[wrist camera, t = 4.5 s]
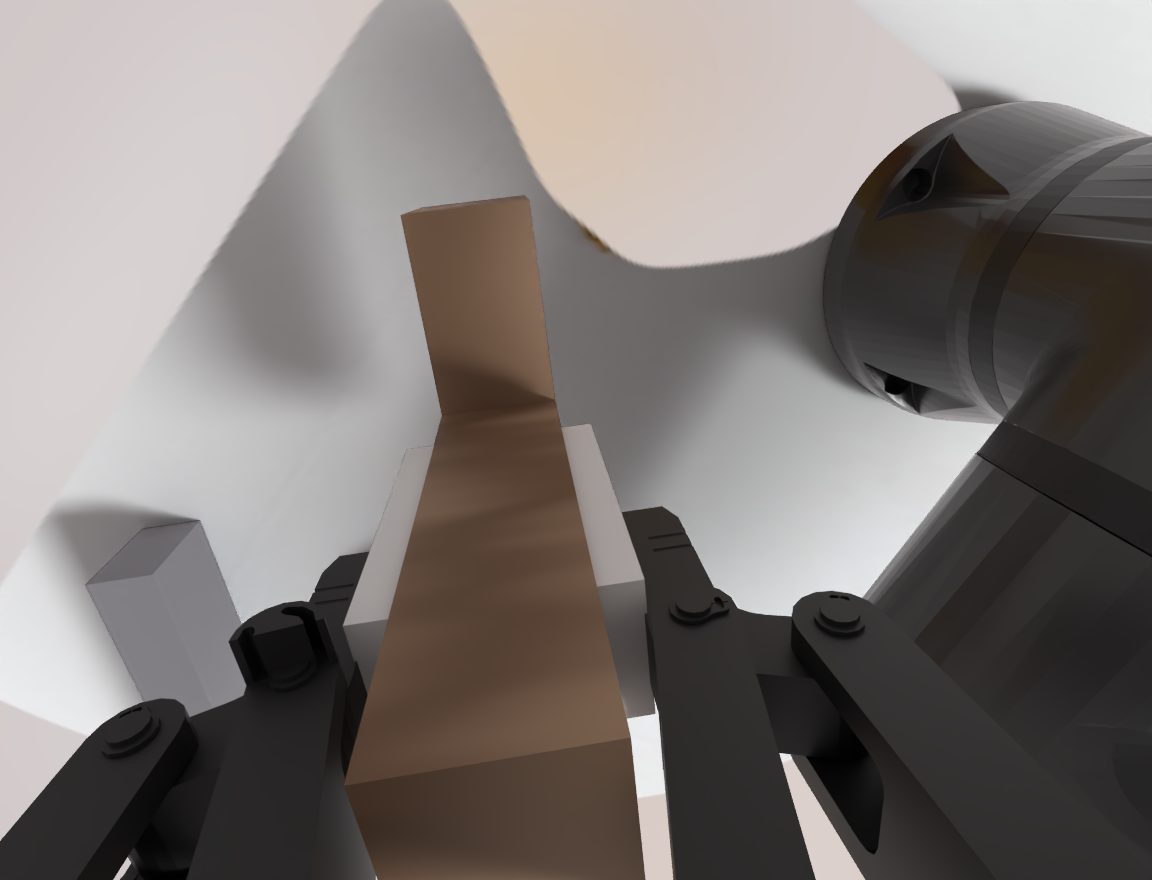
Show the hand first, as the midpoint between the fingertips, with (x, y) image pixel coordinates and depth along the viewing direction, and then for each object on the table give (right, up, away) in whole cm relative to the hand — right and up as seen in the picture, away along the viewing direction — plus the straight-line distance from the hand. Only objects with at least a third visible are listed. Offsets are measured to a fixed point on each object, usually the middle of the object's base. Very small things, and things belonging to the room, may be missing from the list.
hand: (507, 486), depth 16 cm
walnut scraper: (-1, +2, +5) cm, 6 cm away
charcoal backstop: (-19, -10, +21) cm, 30 cm away
